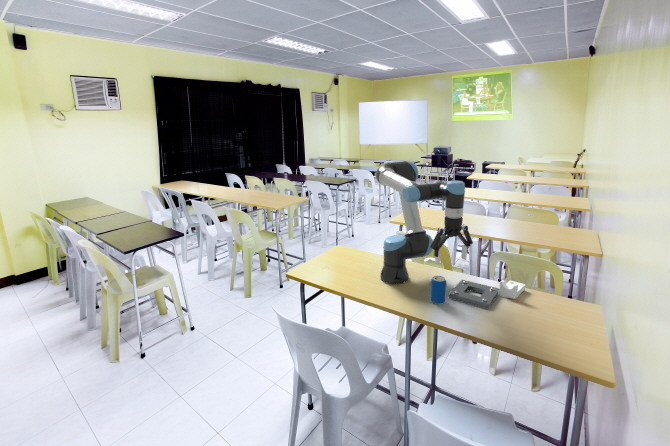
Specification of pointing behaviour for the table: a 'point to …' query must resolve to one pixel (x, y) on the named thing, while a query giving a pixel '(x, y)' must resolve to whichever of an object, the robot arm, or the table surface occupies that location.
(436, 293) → the beverage can
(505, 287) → the bracket
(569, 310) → the table surface
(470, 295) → the grey fixture plate
